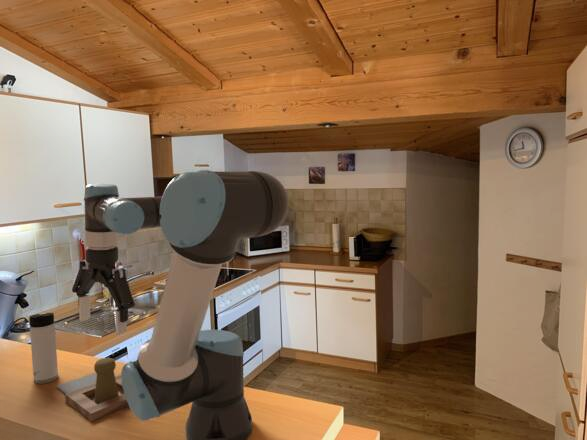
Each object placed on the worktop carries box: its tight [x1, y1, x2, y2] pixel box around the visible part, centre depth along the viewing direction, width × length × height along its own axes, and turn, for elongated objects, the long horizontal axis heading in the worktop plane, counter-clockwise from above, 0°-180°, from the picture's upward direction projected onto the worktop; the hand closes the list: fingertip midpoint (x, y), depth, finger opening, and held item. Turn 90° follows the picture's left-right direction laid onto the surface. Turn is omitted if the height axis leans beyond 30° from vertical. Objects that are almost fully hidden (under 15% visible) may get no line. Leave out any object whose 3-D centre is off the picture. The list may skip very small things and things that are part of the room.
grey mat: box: [56, 371, 97, 395], centre depth 125 cm, size 9×13×1 cm
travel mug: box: [29, 312, 59, 385], centre depth 127 cm, size 6×7×20 cm
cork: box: [93, 357, 120, 405], centre depth 116 cm, size 6×6×11 cm
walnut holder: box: [64, 374, 129, 422], centre depth 116 cm, size 15×15×2 cm
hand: (102, 326), depth 112 cm, fingers open, 13 cm apart
